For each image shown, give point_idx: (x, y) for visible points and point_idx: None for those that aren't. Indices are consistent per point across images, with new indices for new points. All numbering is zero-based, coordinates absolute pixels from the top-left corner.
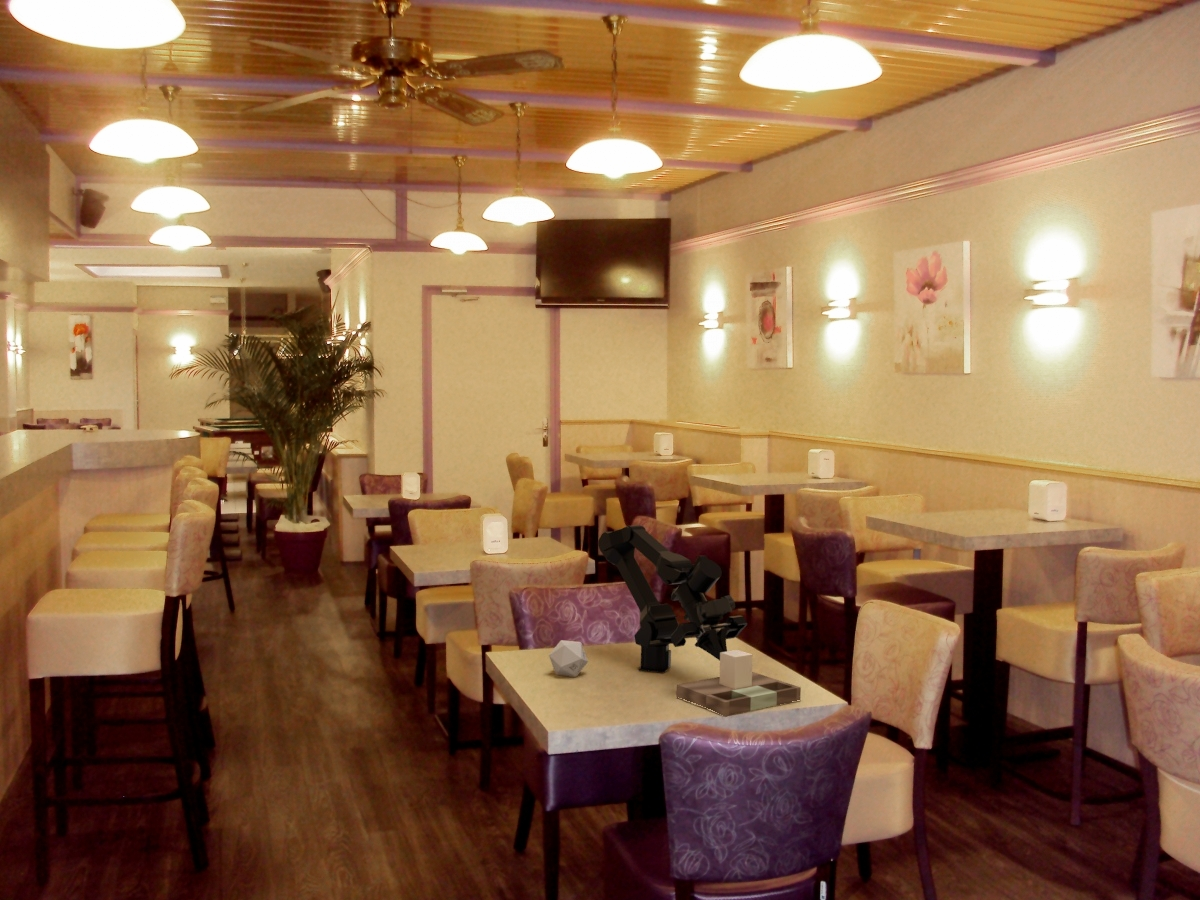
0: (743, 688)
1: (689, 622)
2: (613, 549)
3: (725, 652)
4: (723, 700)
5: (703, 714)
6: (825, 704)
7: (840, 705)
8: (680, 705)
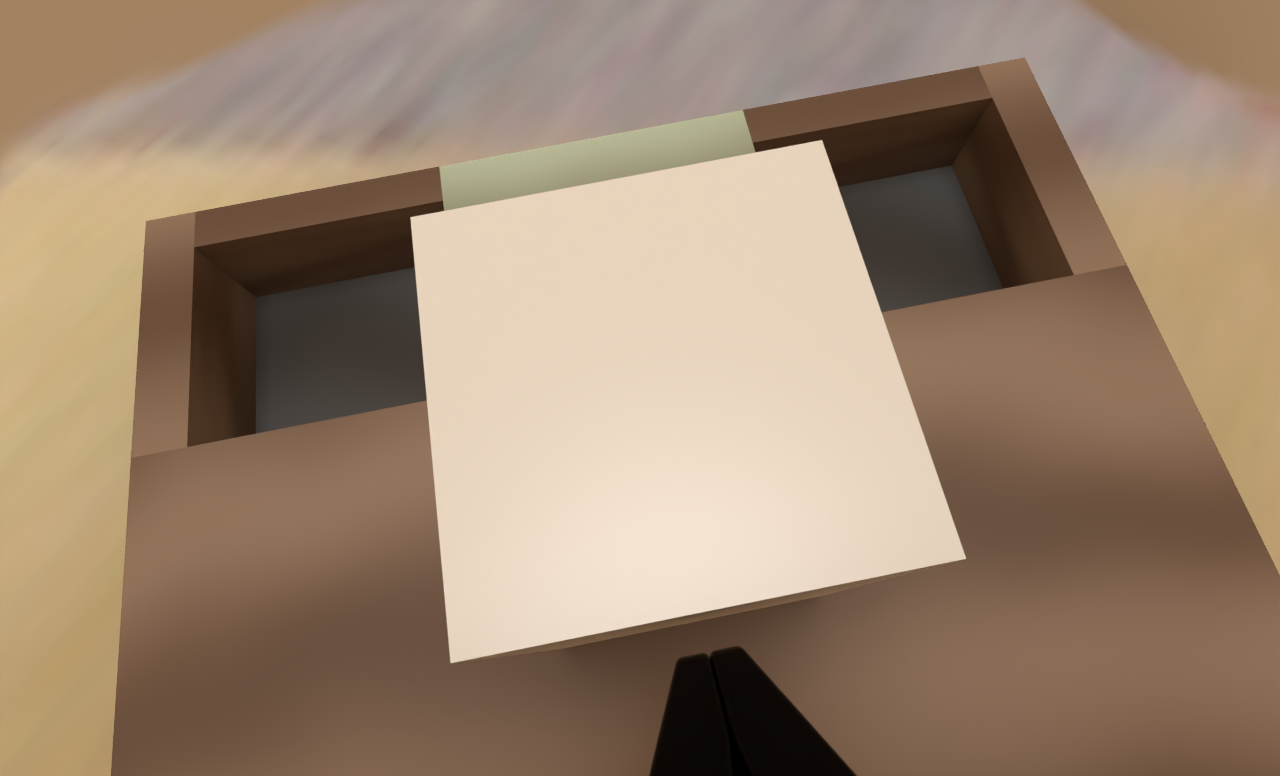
0: None
1: None
2: None
3: (846, 515)
4: (1020, 97)
5: (1117, 223)
6: (132, 164)
7: (65, 119)
8: (1252, 492)
